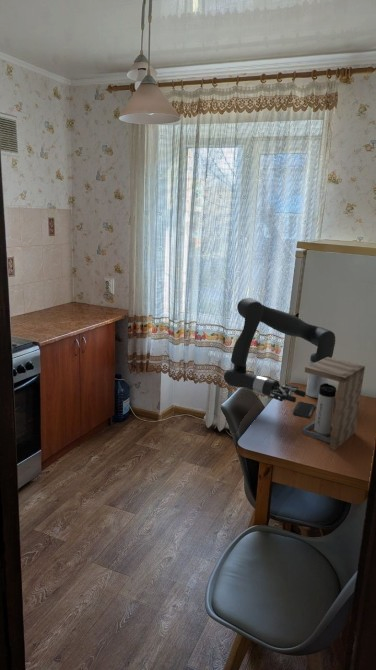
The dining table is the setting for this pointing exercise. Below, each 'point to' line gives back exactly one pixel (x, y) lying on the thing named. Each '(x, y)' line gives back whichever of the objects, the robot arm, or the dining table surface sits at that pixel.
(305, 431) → the seat frame
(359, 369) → the overhang shelf
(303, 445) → the dining table surface
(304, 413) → the phone
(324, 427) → the travel mug
